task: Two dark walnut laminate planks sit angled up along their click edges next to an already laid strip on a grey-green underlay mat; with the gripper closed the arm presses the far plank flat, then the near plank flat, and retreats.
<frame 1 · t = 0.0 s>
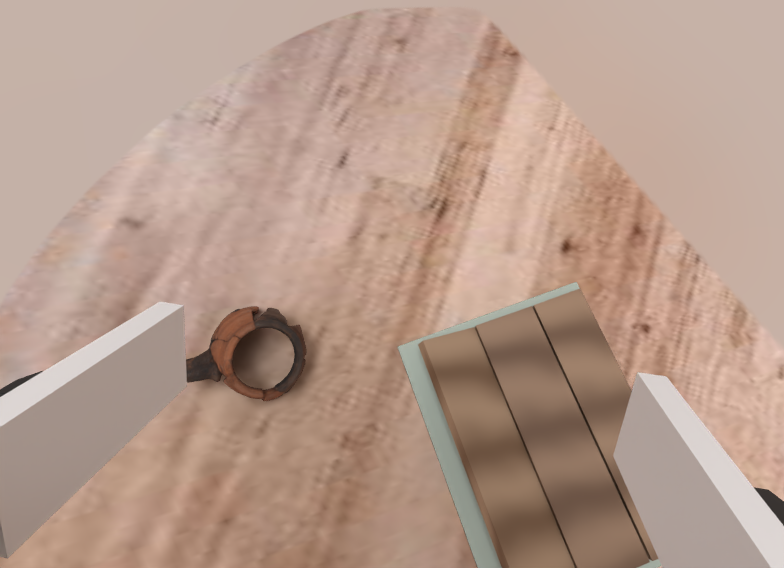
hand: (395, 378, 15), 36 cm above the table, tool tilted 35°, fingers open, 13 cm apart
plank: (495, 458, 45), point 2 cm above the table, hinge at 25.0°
laid strip: (606, 414, 48), resting on underlay mat
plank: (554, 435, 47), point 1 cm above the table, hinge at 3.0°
underlay mat: (541, 439, 48), on the table
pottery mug: (253, 358, 52), on the table
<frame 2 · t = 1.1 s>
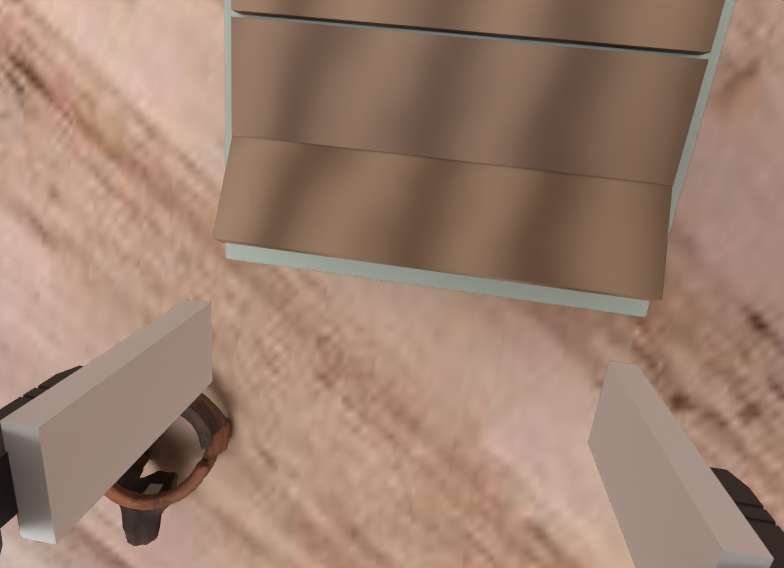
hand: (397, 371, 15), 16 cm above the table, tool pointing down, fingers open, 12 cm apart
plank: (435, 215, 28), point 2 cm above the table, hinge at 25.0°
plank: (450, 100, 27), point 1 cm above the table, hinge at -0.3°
underlay mat: (448, 120, 28), on the table
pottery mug: (175, 428, 38), on the table
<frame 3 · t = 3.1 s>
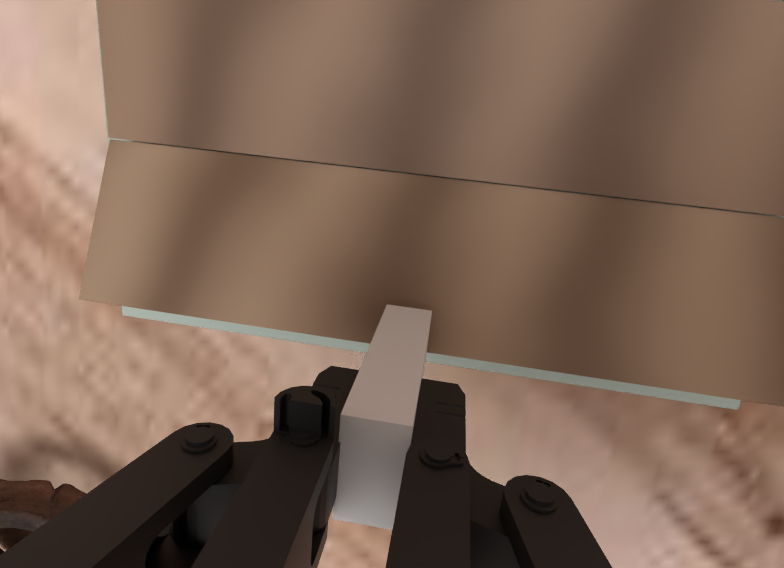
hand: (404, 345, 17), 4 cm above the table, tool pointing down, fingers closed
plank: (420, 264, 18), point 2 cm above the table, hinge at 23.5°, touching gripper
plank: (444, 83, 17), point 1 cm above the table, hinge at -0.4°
underlay mat: (441, 114, 18), on the table
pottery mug: (65, 528, 28), on the table
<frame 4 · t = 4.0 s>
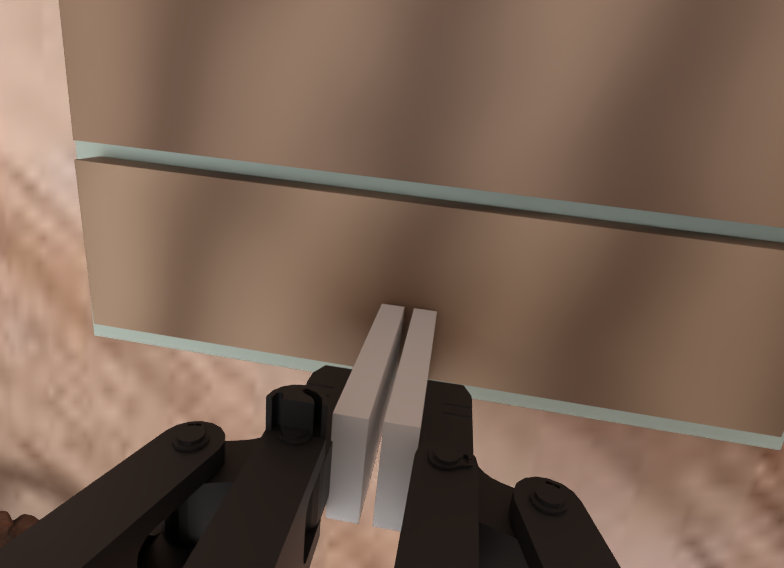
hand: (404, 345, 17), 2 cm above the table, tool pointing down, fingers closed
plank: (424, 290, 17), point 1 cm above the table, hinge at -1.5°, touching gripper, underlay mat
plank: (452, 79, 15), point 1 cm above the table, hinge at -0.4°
underlay mat: (448, 115, 16), on the table
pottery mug: (30, 558, 26), on the table
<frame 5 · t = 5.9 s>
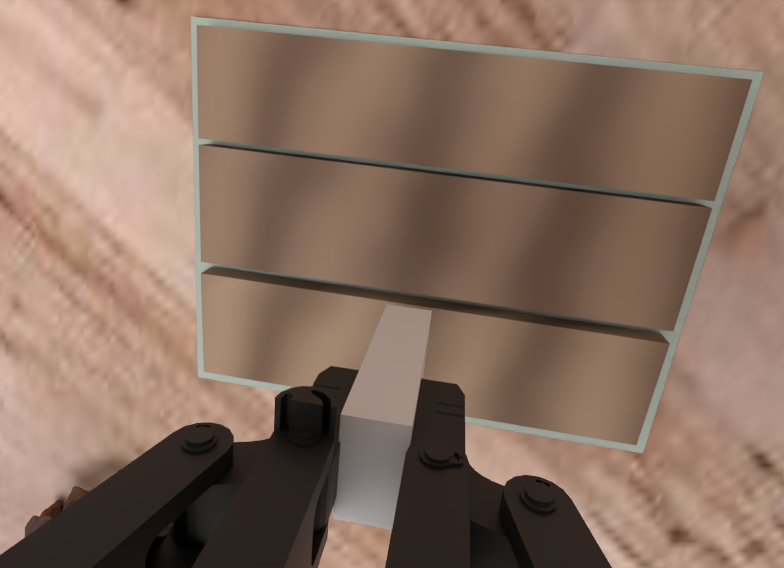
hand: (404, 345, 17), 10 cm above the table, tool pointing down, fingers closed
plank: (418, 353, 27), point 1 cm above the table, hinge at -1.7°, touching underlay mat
laid strip: (452, 112, 24), resting on underlay mat
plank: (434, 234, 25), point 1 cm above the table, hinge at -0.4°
underlay mat: (433, 248, 26), on the table
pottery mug: (125, 528, 36), on the table
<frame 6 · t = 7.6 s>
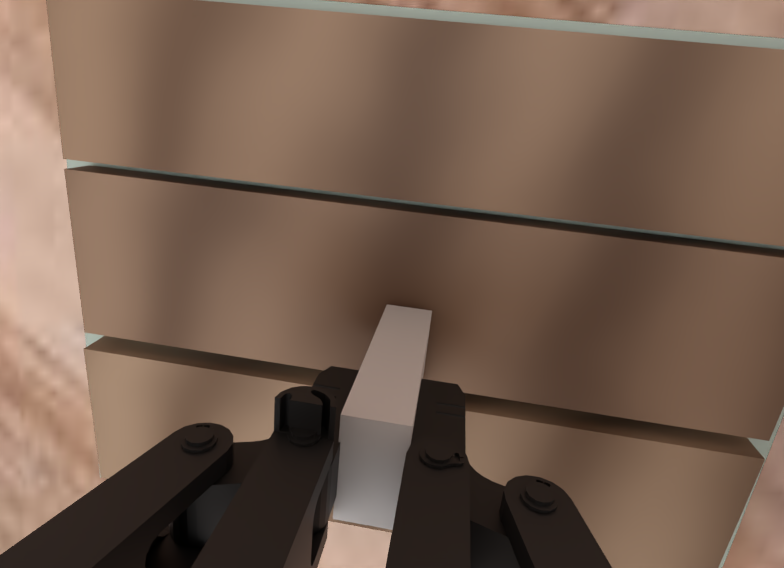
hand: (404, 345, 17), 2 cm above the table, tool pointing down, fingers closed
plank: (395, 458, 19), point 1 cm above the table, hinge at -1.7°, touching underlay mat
laid strip: (438, 117, 16), resting on underlay mat
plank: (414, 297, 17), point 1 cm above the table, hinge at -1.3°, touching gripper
underlay mat: (414, 312, 18), on the table
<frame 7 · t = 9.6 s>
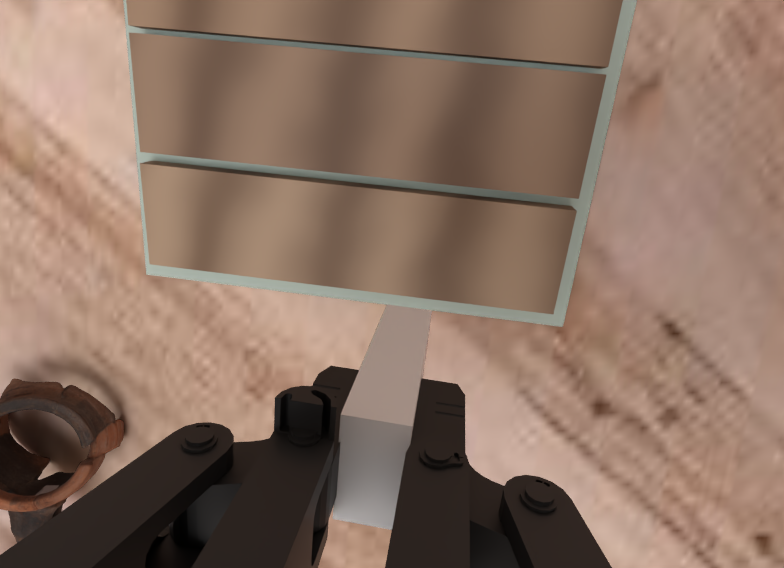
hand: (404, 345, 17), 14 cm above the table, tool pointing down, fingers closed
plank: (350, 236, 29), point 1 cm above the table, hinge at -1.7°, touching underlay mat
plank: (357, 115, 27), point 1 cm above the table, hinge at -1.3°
underlay mat: (359, 133, 28), on the table
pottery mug: (72, 429, 38), on the table
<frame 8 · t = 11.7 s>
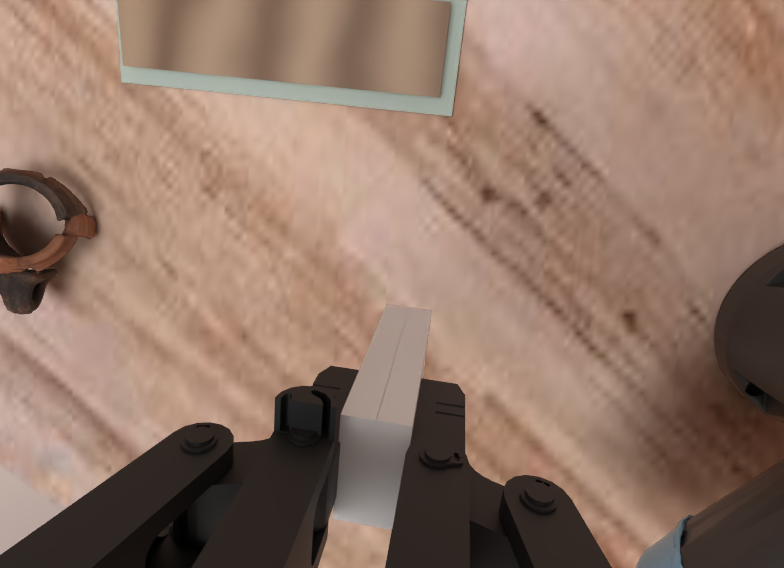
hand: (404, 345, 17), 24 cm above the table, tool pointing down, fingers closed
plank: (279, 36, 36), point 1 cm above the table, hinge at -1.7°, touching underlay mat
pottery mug: (53, 233, 45), on the table
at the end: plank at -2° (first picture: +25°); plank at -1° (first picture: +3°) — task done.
